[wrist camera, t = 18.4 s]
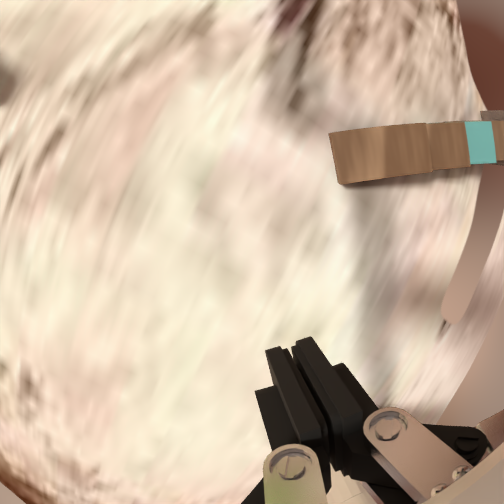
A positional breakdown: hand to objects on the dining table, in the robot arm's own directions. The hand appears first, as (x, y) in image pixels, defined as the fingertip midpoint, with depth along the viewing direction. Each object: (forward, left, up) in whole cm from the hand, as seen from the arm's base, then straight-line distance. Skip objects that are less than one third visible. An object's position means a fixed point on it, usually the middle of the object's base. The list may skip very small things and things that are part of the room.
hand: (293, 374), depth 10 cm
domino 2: (+5, -18, -19) cm, 26 cm away
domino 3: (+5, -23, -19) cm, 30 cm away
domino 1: (+5, -12, -18) cm, 22 cm away
